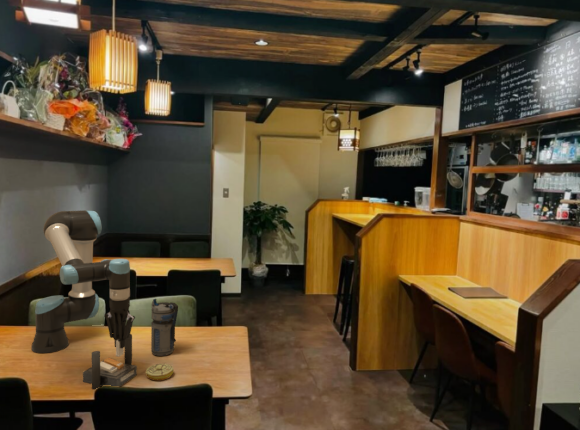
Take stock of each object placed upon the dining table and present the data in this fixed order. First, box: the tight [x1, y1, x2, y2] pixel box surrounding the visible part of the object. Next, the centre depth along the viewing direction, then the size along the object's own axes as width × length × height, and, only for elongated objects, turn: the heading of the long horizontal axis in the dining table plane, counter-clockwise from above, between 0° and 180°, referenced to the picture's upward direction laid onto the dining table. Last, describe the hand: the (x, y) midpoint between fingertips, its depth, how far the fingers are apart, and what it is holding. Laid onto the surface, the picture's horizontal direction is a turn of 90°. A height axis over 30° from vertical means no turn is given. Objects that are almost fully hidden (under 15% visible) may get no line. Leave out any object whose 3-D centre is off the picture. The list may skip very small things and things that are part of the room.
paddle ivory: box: [100, 361, 117, 373], centre depth 166 cm, size 8×3×1 cm, turn 74°
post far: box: [123, 333, 133, 365], centre depth 179 cm, size 3×3×14 cm
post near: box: [91, 350, 101, 390], centre depth 160 cm, size 3×3×14 cm
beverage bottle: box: [150, 298, 179, 357], centre depth 194 cm, size 10×13×25 cm
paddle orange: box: [103, 357, 124, 369], centre depth 170 cm, size 8×3×1 cm, turn 74°
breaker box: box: [82, 359, 138, 387], centre depth 168 cm, size 16×12×5 cm
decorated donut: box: [145, 363, 174, 381], centre depth 172 cm, size 10×11×4 cm
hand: (119, 355), depth 169 cm, fingers closed
